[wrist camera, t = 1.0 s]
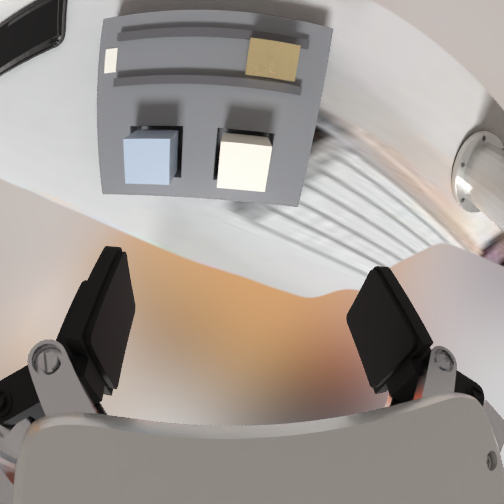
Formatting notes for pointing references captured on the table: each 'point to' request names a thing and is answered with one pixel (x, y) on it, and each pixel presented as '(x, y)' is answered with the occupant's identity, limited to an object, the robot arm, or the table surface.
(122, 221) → the table surface
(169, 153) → the blue button
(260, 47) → the slider knob
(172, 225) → the table surface
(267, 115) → the panel
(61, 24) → the phone
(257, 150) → the cream button
